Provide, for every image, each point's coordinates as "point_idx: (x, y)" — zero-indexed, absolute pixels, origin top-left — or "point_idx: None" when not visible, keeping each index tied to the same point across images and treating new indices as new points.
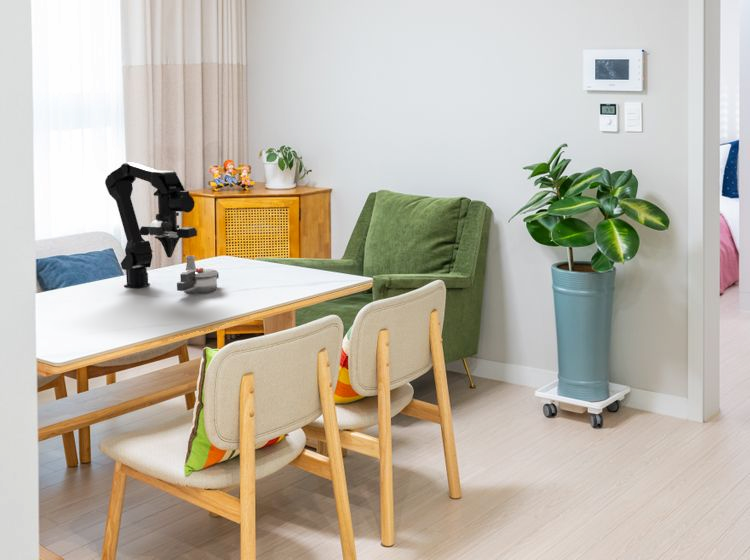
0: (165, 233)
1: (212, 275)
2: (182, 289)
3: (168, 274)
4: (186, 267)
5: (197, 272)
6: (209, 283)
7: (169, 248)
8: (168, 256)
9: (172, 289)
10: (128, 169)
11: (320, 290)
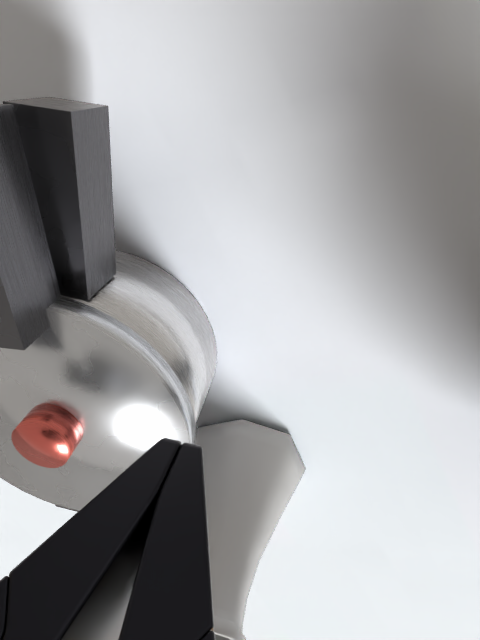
0: None
1: None
2: (45, 98)
3: (464, 628)
4: (246, 548)
5: (54, 406)
6: None
7: (37, 572)
8: (174, 448)
9: (302, 348)
10: None
11: None
